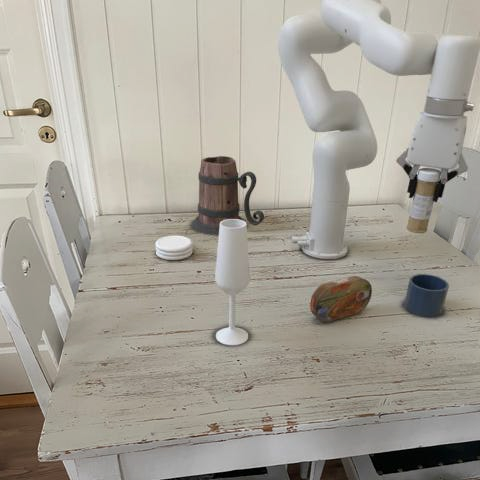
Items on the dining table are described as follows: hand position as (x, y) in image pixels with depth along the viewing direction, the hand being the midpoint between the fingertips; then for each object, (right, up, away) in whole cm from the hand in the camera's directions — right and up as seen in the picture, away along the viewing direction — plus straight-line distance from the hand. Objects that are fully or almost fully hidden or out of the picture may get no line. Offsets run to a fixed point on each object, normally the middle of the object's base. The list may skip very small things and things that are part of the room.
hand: (423, 197), depth 105 cm
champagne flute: (-41, -30, -6) cm, 51 cm away
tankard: (-44, +3, +47) cm, 64 cm away
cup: (+2, -24, +5) cm, 24 cm away
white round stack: (-58, -8, +29) cm, 65 cm away
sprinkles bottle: (0, -7, +4) cm, 8 cm away
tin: (-18, -26, +2) cm, 31 cm away
